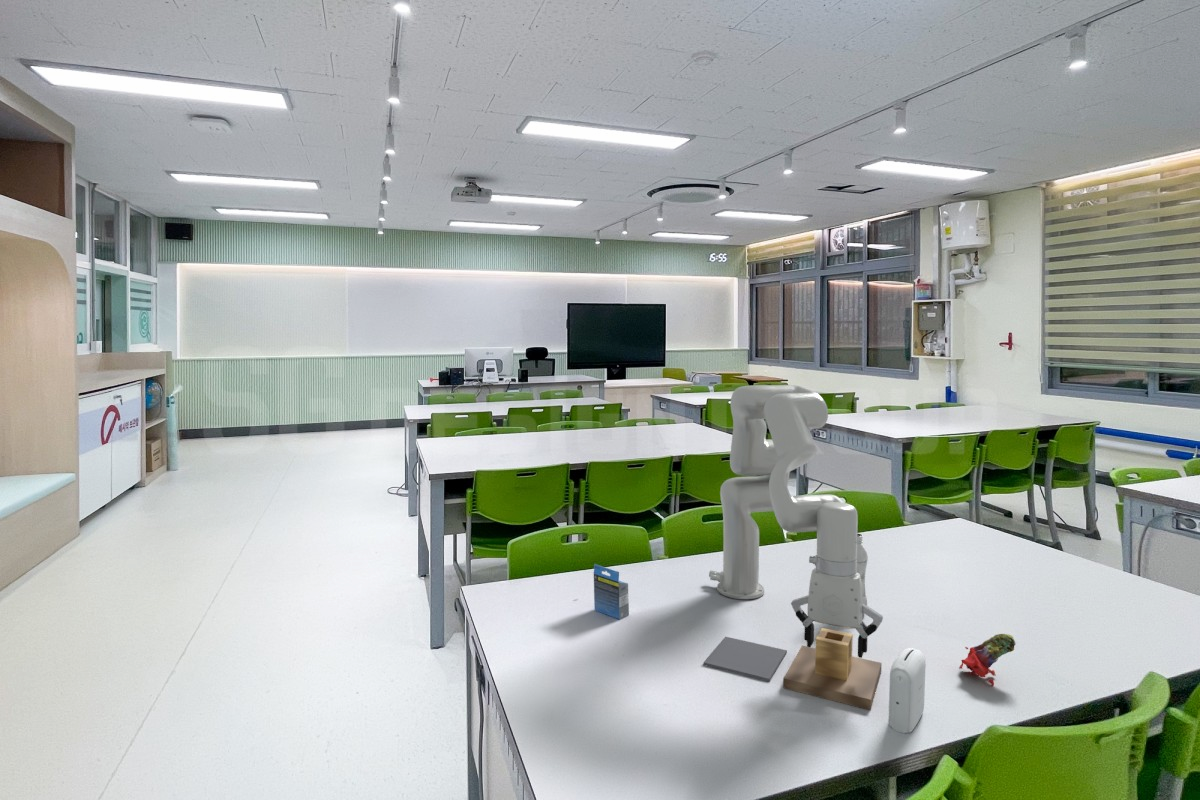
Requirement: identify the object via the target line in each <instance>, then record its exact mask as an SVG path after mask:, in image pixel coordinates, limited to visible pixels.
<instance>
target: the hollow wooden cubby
mask: <svg viewBox="0 0 1200 800" xmlns="http://www.w3.org/2000/svg"><path fill="white" fill-rule="evenodd" d="M853 635H854V634H853V633H849V632H845V631H840V630H835V629H829V628H824V627H821V629H820V631H819V633H818V634H817V636H816V638H815V648H816V654H815V673H817V674H821V675H825V676H829V677H833V678H838V679H842V680H846V681H847V679H848V676H849V674H850V671H851V668H852V656H853V639H854V636H853Z"/></svg>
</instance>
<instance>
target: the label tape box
mask: <svg viewBox="0 0 1200 800" xmlns="http://www.w3.org/2000/svg"><path fill="white" fill-rule="evenodd" d="M593 566H594V567H593V594H594V596H593V597H594V598H593V599H594V600H593V601H594V603H593V604H594V611H596V612H597V613H600V612H601V613H600V614H603V613H604V615H606V614H607V615H606V616H609V617H612V618H614V619H618V620H623V619H624V618H627V617H628V616H629V615H630V610H629V609H630V608H629V607H630V605H629V604H630V603H629V602H630V601H629V583H628V582H625V581H621V580H620V572H619V571H618V570H613V569H611V568H608V567H605V566H602V565H599V564H596V563H594V565H593ZM603 572H605V573H607V574H605V573H603ZM608 574H609V575H608Z"/></svg>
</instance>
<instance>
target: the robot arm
mask: <svg viewBox="0 0 1200 800" xmlns="http://www.w3.org/2000/svg"><path fill="white" fill-rule="evenodd" d="M730 412H731V416H732V421H733V422H732V423H733V425H732V426H733V427H732V428H733V429H732V435H731V446H730V453H729V454H730V455H729V466H730V469H731V472H733V473H734V475H737V476H736V477H731V478H728V479H726V480H724V481H723V483H722V484H721V485H720V491H719V495H720V501H721V502H720V503H721V507H722V509H721V510H722V517H723V520H722V521H723V522H722V524H723V528H722V529H723V542H722V543H723V546H722V547H723V548H722V549H723V557H722V560H723V561H722V562H723V564H722V567H723V568H722V570H723V571H717V570H709V572H708V576H709V578H710V581H717V582H718V583H717V588H716V590H717V592H718V593H720V594H721V595H723V596H724V597H727V598H731V599H734V600H736V599H737V600H754V599H758V598H760V597H763V595H765V588H764V586H763V584H760V583H759V574H760V573H759V570H760V569H759V568H760V567H759V566H760V565H759V563H760V561H759V560H760V528H759V526H758V523H757V522H756V521H755V519H754V518H753V516H751V513H759V512H760V513H762V512H773V513H774V516H775V518H776V521H777V523H778V525H779V526H780V527H781V529H783V530H784V531H785V532H788V533H806V532H807V533H808V532H816V554H815V555H810V556H809V558H808V563H809V564H810V563H811V564H813V565H814V566H815V567H814V568H813V569H812V570H811V574H810V580H809V586H808V594H807V595H806V596H805V595H804V596H802V597H798V598H796V599H793V600H792V601H791V603H790V605H791V606H792V609H793V611H794V613H795V617H797V618H798V620H799V621H800V623H801V624H802V626H803V627H804V632H803V633H804V635H803V637H804V641H806V646H807V647H812V645H813V644H814V642H815V641H814V640H815V624H814V622H815V623H819V624H825V625H829V626H835V627H842V628H847V629H855V630H856V632H858V634H859V635H858V638H857V658H862V659H863V655H864V653H865V654H866V653H867V652H868V637H869V636H870V635H872V634H873V633H875V632H876V631H877V630H878V628H879V627H880V625H881V624H882V622H883V620H884V616H883V615H882V614H880V613H879V612H877V611H875V609H873V608H871V607H870V606H868V604H867V605H865V604H863V590H862V582H861V577H860V574H859V573H857V533H858V524H859V523H858V519H859V517H858V516H859V515H858V510H857V509H856V507H855V506H854V505H852V504H850V503H846V502H844V501H843V500H842V499H841V498H840V497H839V496H837V495H835V494H830V493H827V494H826V493H825V494H803V495H802V494H801V495H800V494H799V495H791V493H790V490H789V487H788V486H789V479H790V472H792V471H794V470H796V469H798V468H800V467H802V466H804V465H806V464H807V463H809V462H811V460H813V459H814V458H815V456H816V454H817V450H818V449H817V445H816V443H815V440H814V438H813V436H812V433H811V430H810V429H816V430H817V429H820V428H823V427H824V426H825V425H826V424H827V422H828V417H829V410H828V405H827V403H826V401H825V400H824V398H823V397H822V396H821V395H820V394H819V393H817V392H815V391H813V390H810V389H808V388H805V387H802V386H800V385H795V384H782V385H781V384H777V385H773V384H771V385H770V384H759V385H758V384H755V385H752V384H751V385H742V386H739V387H736V388H735V389H734V391H733V392H732V395H731V397H730ZM767 427H768V430H769V431H768V432H769V434H770V438H771V439H766V437H767ZM806 604H807V614H806V613H805V611H804V610H803V609H802V606H804V605H806ZM864 615H866V616H867V617H868V618H871V620H872V622H871V623H870V624H868V625H867V624H866V623H865V622H864V621H863V620H864Z"/></svg>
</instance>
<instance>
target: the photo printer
mask: <svg viewBox="0 0 1200 800" xmlns="http://www.w3.org/2000/svg"><path fill="white" fill-rule="evenodd" d="M926 665H927V664H926V658H925V656H924V653H922V651H921V650H920V649H916V648H913V647H908V648H905V649H903V650H902V651H901V652H900V653H898V655H897V656H896V658H895V659H894V661H893V662H892V665H891V668H890V671H889V692H888V693H889V695H888V719H887V720H888V722H887V723H888V726H890V727H891V729H892V730H893V731H896V732H899V733H902V734H908V733H911V732H912V731H913V730H914V729H915V728H916V725H918V723H919V721H920V719H921V717H922V715H923V713H924V711H925V710H924V709H925V692H926V691H925V690H926V689H925V688H926Z"/></svg>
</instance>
